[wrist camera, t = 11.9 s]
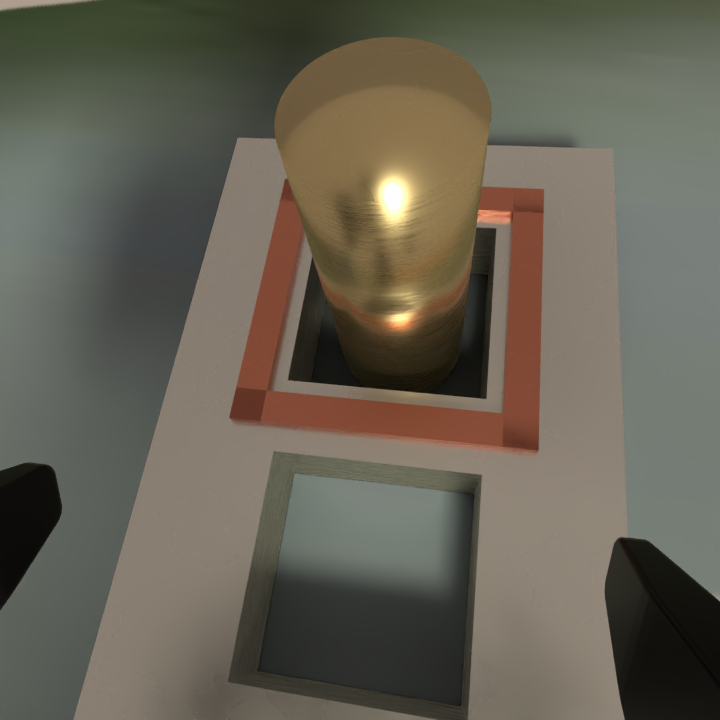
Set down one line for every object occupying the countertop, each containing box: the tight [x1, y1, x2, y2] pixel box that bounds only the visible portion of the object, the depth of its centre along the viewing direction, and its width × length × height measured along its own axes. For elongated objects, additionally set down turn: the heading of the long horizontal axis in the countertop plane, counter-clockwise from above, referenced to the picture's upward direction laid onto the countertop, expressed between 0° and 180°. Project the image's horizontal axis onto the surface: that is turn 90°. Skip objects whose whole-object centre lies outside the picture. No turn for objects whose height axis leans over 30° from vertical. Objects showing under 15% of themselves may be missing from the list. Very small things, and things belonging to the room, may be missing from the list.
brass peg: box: [274, 37, 491, 393], centre depth 17 cm, size 4×4×11 cm
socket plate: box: [73, 138, 628, 720], centre depth 19 cm, size 22×14×3 cm, turn 172°
